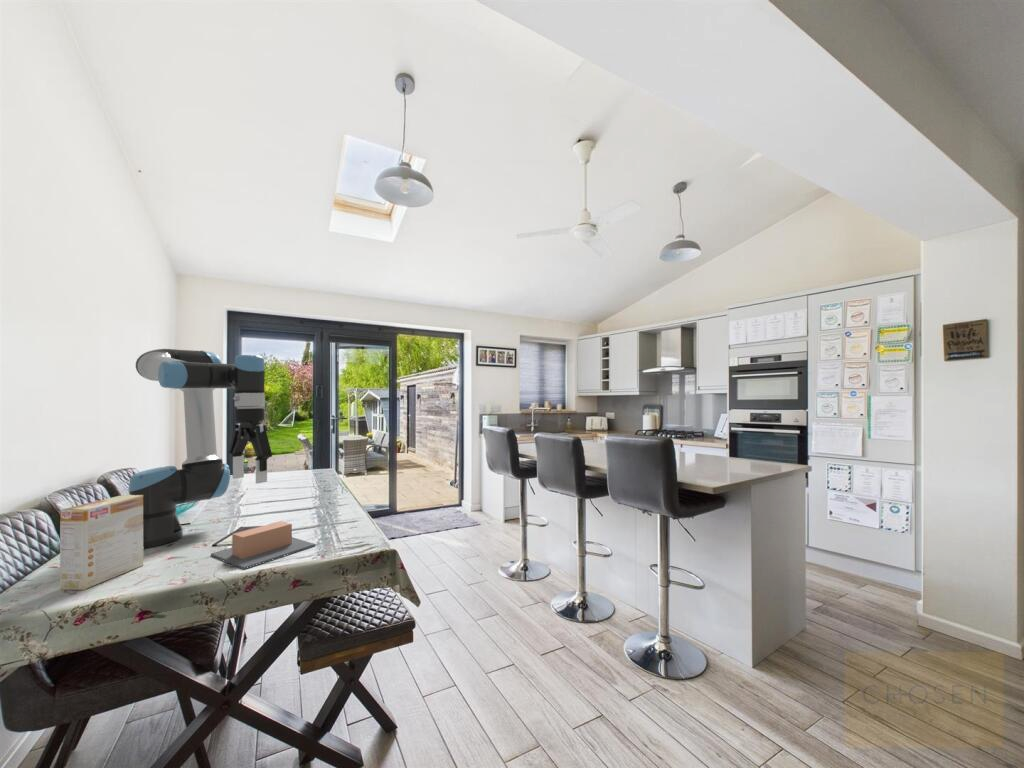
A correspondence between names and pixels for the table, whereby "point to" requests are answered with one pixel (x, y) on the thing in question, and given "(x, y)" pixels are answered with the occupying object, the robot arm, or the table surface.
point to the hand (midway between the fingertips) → (249, 480)
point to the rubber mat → (262, 554)
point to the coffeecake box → (100, 541)
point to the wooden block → (261, 539)
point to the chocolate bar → (228, 538)
